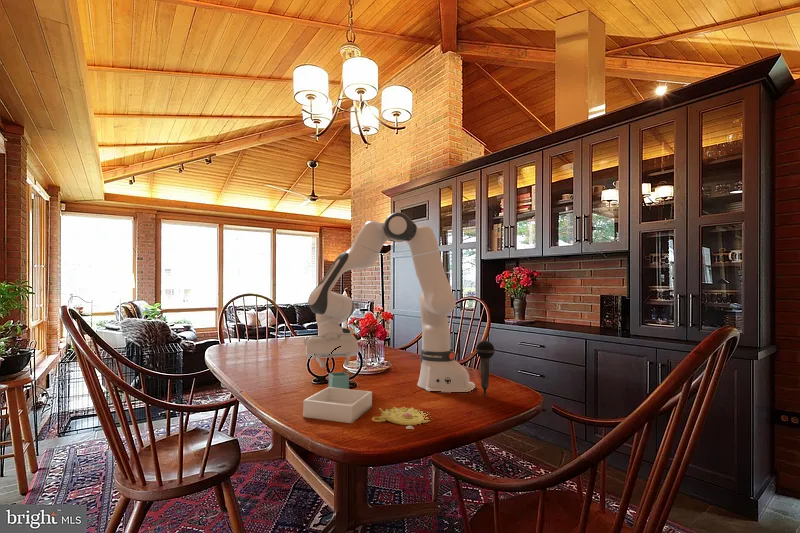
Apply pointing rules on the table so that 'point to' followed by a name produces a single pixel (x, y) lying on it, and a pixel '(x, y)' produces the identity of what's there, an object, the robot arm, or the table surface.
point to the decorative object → (402, 416)
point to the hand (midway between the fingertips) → (335, 365)
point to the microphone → (485, 362)
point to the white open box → (337, 404)
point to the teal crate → (339, 380)
